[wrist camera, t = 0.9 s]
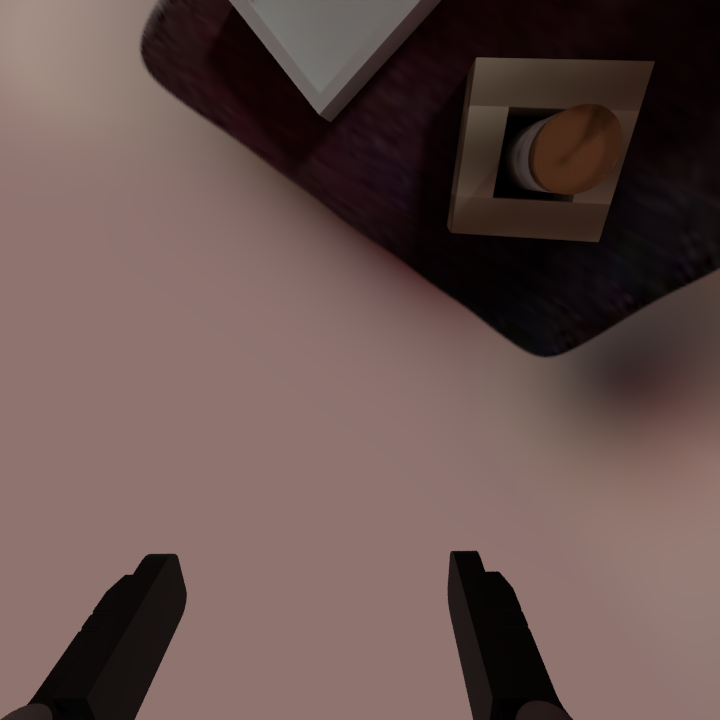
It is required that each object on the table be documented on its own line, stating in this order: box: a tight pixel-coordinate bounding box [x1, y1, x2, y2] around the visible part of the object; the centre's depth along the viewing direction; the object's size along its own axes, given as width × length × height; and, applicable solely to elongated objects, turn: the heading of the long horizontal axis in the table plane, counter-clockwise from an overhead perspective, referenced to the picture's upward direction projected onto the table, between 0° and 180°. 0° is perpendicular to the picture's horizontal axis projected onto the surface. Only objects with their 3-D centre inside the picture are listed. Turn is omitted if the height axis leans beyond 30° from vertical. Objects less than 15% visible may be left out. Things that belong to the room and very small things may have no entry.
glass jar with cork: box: [498, 104, 623, 195], centre depth 24 cm, size 4×4×10 cm
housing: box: [447, 58, 655, 242], centre depth 26 cm, size 10×10×4 cm
